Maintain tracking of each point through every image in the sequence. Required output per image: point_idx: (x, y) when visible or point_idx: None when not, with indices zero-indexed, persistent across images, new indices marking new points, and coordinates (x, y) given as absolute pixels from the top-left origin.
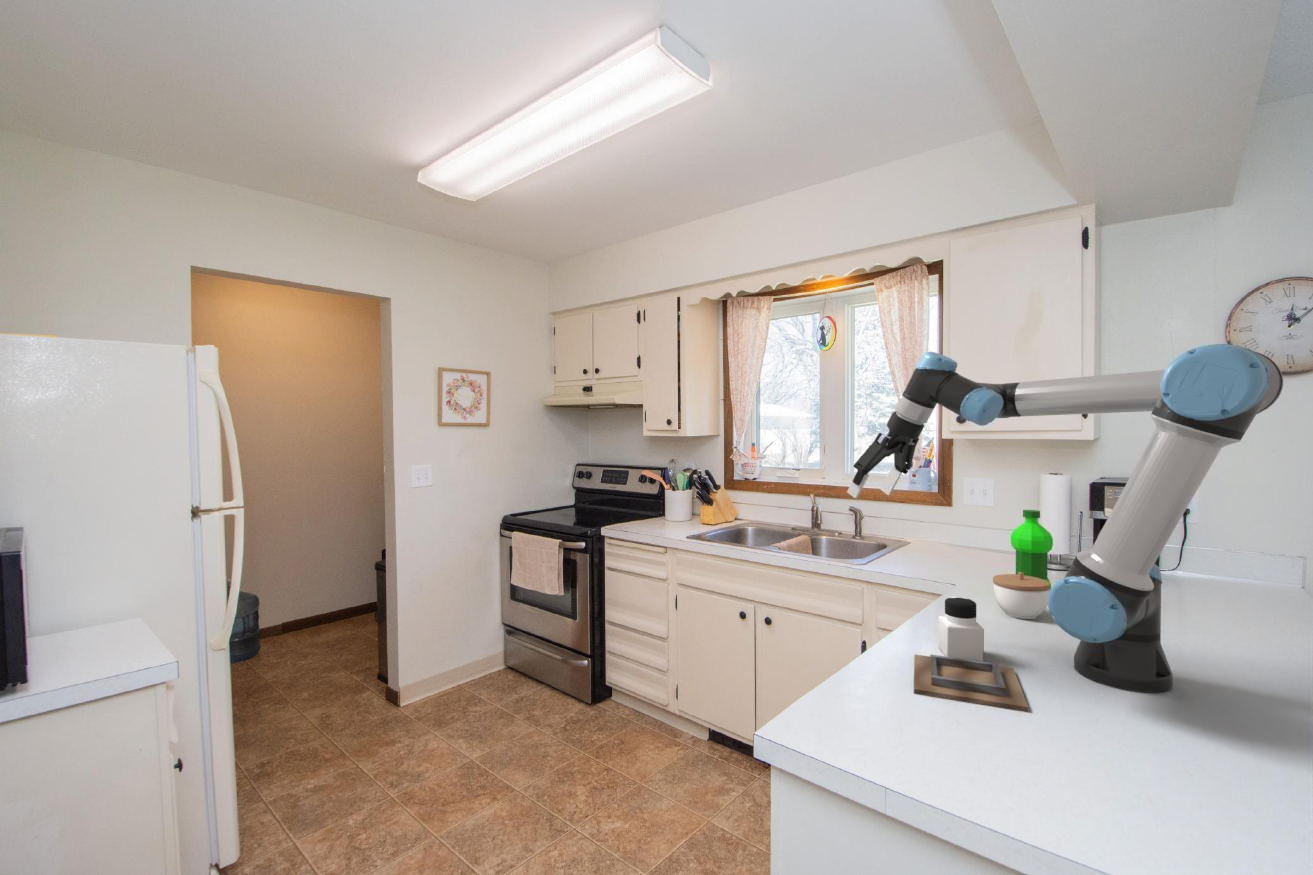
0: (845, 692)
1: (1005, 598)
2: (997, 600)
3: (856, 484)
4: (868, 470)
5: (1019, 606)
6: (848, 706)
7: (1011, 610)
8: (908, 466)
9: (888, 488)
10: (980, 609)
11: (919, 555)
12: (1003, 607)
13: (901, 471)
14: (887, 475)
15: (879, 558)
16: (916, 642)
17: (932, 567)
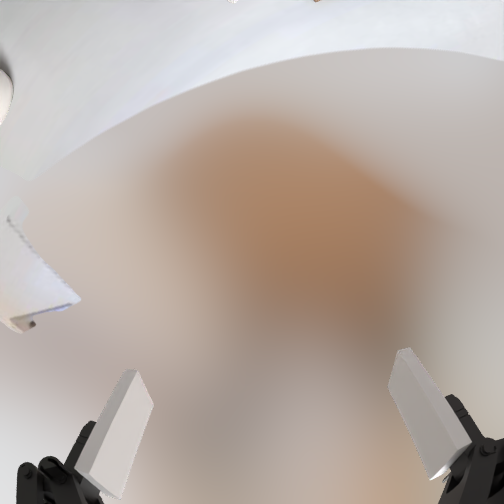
0: (464, 34)
1: (2, 93)
2: (7, 108)
3: (452, 397)
4: (487, 462)
5: (2, 75)
6: (480, 24)
7: (10, 83)
8: (34, 487)
9: (134, 401)
10: (25, 125)
11: (10, 296)
12: (11, 95)
13: (75, 477)
14: (132, 462)
15: (47, 308)
16: (244, 35)
17: (9, 269)
